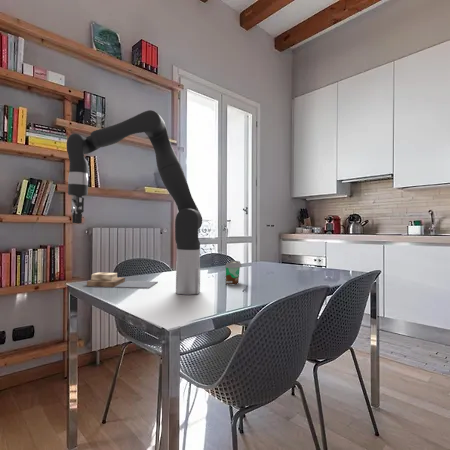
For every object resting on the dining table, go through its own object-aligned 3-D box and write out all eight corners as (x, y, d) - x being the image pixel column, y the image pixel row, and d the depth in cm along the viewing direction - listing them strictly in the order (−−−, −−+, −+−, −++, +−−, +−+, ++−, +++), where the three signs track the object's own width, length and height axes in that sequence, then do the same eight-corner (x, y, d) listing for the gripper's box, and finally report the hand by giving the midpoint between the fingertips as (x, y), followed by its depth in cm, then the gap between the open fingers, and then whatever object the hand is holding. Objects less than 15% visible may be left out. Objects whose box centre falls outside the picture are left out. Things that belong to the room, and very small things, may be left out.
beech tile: (117, 278, 147) (117, 272, 147) (111, 280, 141) (111, 275, 141) (97, 277, 148) (97, 272, 148) (91, 280, 142) (91, 274, 142)
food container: (238, 286, 146) (239, 263, 146) (225, 285, 147) (225, 263, 147) (242, 281, 158) (243, 260, 158) (230, 280, 160) (230, 260, 160)
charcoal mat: (157, 282, 150) (157, 281, 150) (149, 288, 136) (149, 287, 136) (126, 281, 151) (126, 280, 151) (114, 287, 137) (114, 286, 137)
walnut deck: (124, 281, 150) (124, 277, 150) (114, 286, 138) (114, 282, 138) (99, 281, 151) (99, 276, 151) (86, 286, 139) (87, 281, 139)
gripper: (91, 183, 131) (89, 223, 131) (84, 186, 143) (83, 223, 143) (70, 181, 127) (69, 223, 127) (65, 184, 139) (64, 222, 139)
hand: (76, 223), depth 135 cm, fingers open, 8 cm apart
